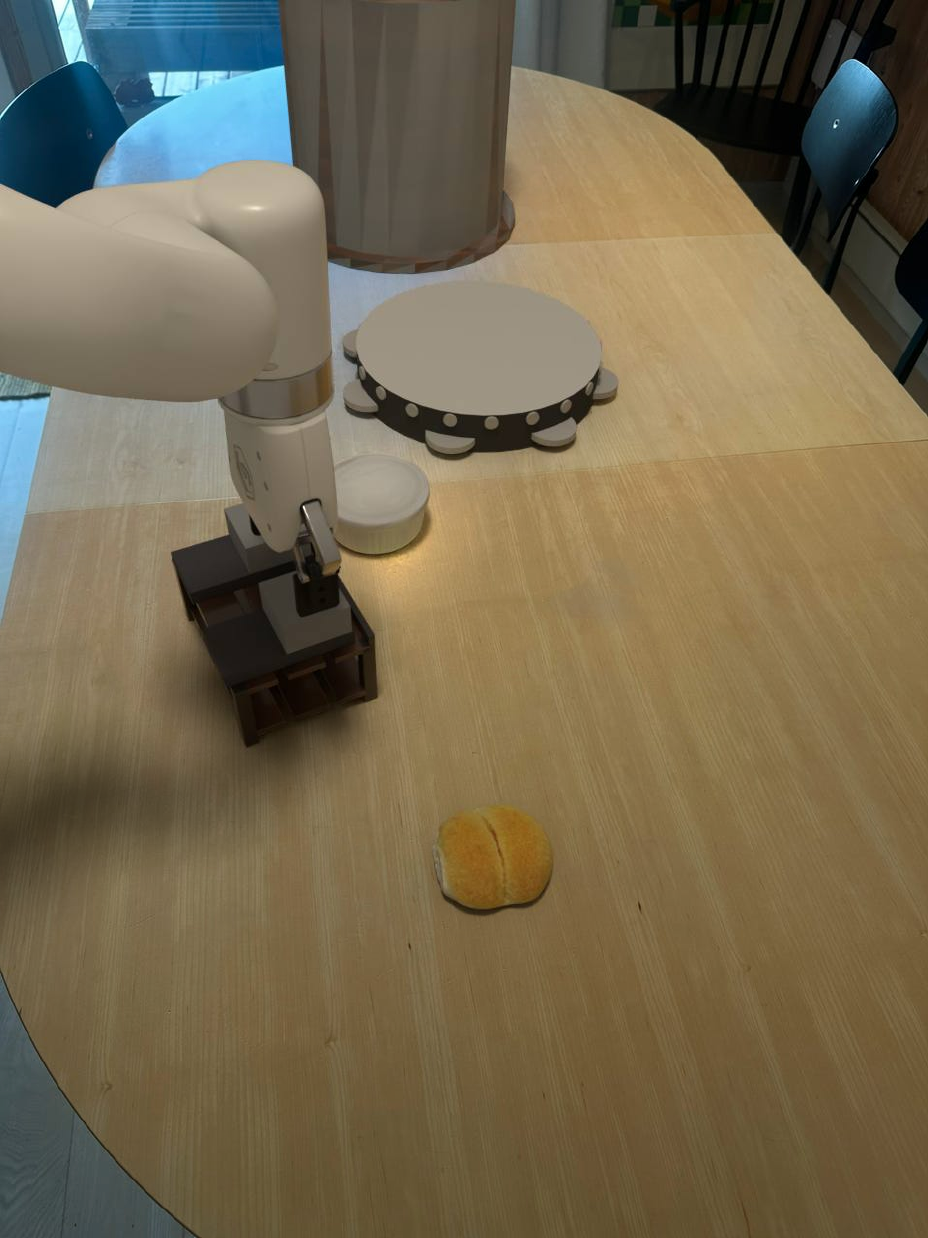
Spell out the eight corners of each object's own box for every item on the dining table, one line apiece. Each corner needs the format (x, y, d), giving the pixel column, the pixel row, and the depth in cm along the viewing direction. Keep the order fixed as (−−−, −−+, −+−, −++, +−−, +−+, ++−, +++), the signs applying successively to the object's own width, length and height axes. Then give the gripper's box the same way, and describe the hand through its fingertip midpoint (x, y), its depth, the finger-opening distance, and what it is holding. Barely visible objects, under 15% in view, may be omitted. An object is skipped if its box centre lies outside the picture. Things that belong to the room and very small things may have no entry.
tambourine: (620, 323, 128) (626, 288, 124) (610, 481, 106) (617, 444, 102) (367, 295, 130) (365, 260, 127) (304, 444, 108) (301, 406, 105)
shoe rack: (246, 748, 81) (232, 685, 74) (185, 613, 90) (168, 548, 84) (377, 697, 85) (375, 634, 78) (305, 573, 95) (298, 509, 88)
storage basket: (521, 176, 158) (540, -60, 134) (507, 283, 134) (527, 19, 111) (309, 159, 159) (290, -78, 135) (258, 262, 136) (225, -4, 112)
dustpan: (225, 688, 76) (217, 652, 72) (203, 640, 79) (194, 603, 76) (355, 642, 79) (352, 605, 76) (329, 597, 83) (325, 560, 79)
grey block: (192, 605, 82) (183, 567, 78) (173, 563, 85) (163, 525, 82) (315, 565, 85) (311, 528, 82) (292, 527, 89) (287, 489, 85)
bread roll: (564, 900, 72) (570, 874, 69) (446, 923, 71) (448, 898, 68) (534, 805, 78) (539, 778, 75) (424, 825, 76) (425, 798, 73)
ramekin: (358, 477, 105) (356, 438, 101) (449, 512, 101) (450, 473, 98) (298, 538, 98) (294, 498, 94) (393, 578, 95) (392, 538, 91)
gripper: (176, 320, 65) (211, 513, 78) (264, 464, 55) (288, 661, 68) (281, 299, 68) (299, 489, 81) (384, 433, 58) (386, 627, 70)
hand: (294, 567), depth 74 cm, fingers open, 9 cm apart
